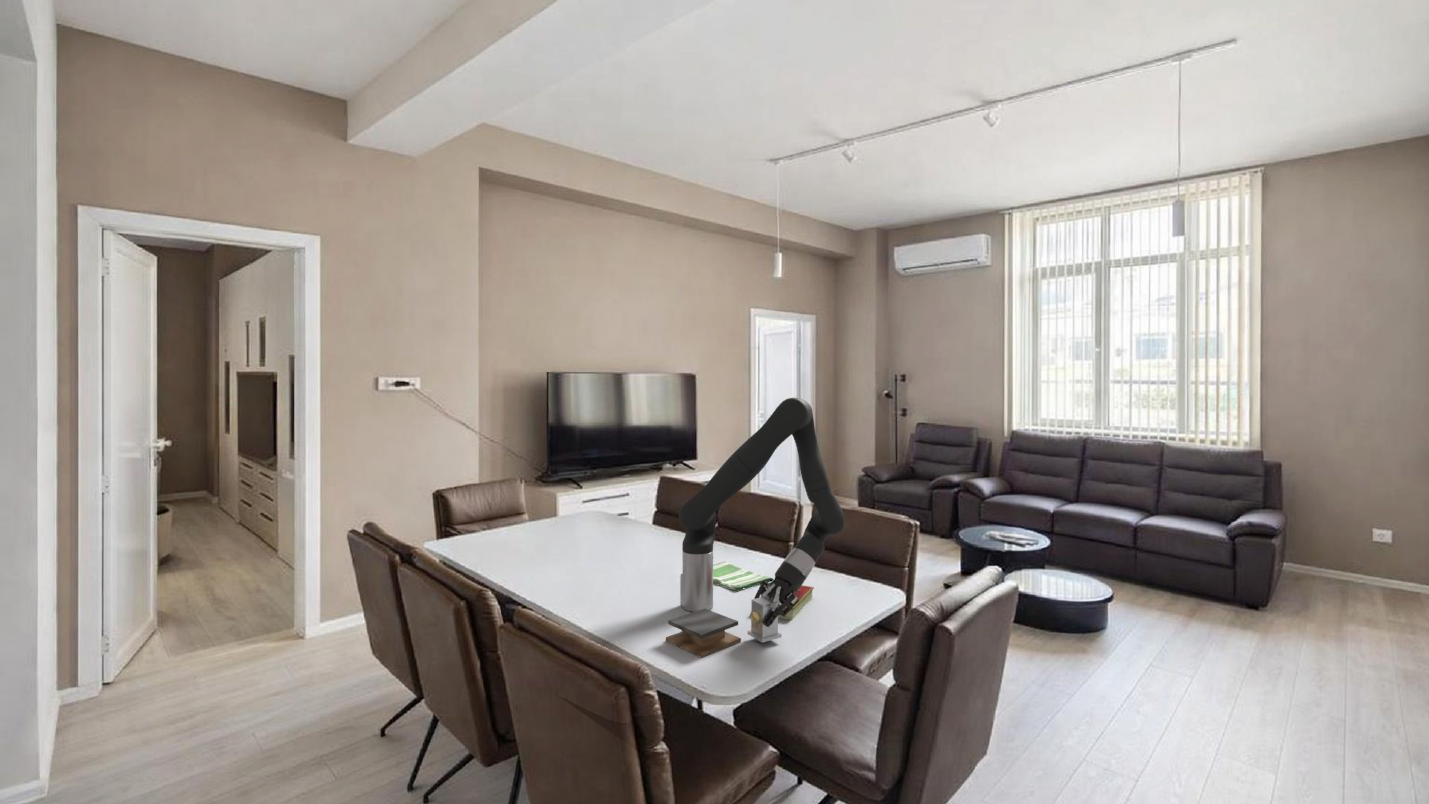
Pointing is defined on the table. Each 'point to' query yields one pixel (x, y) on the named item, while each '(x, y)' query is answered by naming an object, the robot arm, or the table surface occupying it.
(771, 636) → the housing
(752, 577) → the dish towel
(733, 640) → the stand
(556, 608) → the table surface
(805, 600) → the hardcover book
